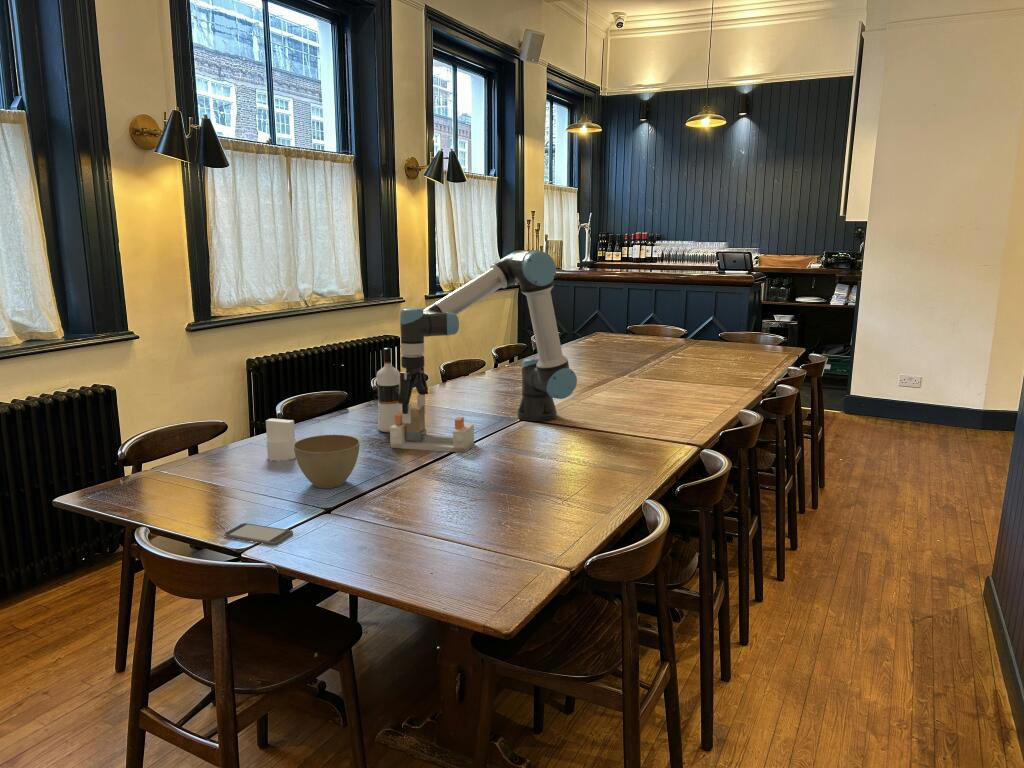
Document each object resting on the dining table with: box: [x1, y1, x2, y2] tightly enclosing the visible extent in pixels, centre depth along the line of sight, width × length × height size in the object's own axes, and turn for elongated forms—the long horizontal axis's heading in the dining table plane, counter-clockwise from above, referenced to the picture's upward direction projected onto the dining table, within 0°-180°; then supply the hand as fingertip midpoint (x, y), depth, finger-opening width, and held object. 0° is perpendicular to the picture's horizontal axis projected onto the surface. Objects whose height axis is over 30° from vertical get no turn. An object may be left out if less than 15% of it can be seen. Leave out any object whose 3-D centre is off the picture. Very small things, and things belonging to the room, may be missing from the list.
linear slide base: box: [389, 416, 475, 453], centre depth 245 cm, size 26×10×10 cm, turn 76°
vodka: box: [376, 347, 401, 434], centre depth 263 cm, size 9×9×30 cm
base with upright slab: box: [265, 418, 297, 462], centre depth 234 cm, size 9×9×12 cm
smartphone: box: [223, 522, 294, 547], centre depth 174 cm, size 7×1×15 cm
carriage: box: [404, 404, 427, 441], centre depth 246 cm, size 6×5×11 cm
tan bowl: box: [294, 434, 361, 489], centre depth 208 cm, size 18×18×12 cm
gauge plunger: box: [394, 413, 402, 425], centre depth 247 cm, size 2×4×3 cm, turn 166°
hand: (414, 418), depth 245 cm, fingers open, 13 cm apart
